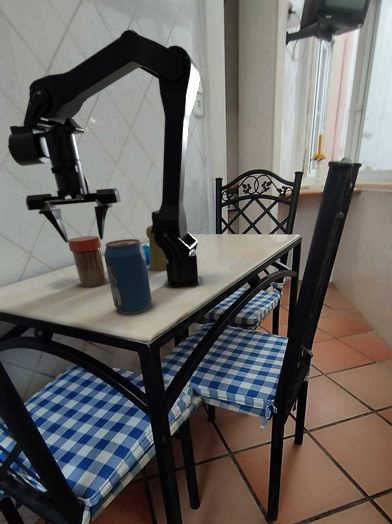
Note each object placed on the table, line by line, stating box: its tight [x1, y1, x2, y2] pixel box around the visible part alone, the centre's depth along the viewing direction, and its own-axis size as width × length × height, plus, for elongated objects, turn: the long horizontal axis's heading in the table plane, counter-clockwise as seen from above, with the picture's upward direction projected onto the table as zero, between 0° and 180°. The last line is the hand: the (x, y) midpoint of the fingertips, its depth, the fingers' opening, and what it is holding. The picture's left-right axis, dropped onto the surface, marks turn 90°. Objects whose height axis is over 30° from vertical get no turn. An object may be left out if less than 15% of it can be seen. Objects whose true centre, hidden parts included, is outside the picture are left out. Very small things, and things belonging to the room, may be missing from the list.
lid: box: [68, 235, 102, 252], centre depth 72 cm, size 7×7×2 cm
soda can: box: [103, 238, 152, 315], centre depth 56 cm, size 7×7×12 cm
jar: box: [71, 248, 108, 288], centre depth 74 cm, size 6×6×10 cm
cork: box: [145, 224, 168, 272], centre depth 83 cm, size 6×6×11 cm
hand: (84, 240), depth 71 cm, fingers open, 8 cm apart
